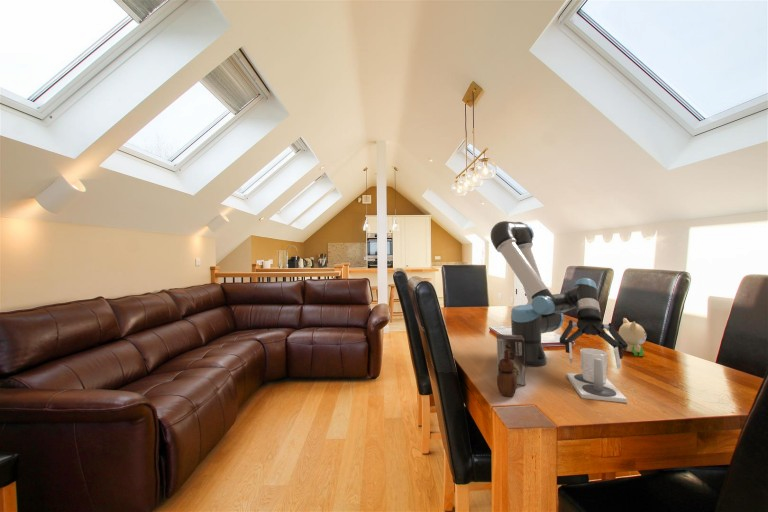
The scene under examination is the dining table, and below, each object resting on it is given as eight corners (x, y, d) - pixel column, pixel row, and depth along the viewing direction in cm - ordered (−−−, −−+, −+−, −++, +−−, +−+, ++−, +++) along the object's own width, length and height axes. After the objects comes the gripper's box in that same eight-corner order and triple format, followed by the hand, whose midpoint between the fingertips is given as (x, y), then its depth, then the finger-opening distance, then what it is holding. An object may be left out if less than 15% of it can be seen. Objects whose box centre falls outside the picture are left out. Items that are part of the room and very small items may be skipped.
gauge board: (581, 397, 98) (580, 362, 98) (566, 376, 116) (566, 346, 116) (627, 402, 94) (626, 365, 94) (604, 379, 112) (603, 348, 112)
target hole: (578, 382, 107) (578, 382, 107) (571, 373, 115) (571, 372, 115) (608, 385, 104) (608, 384, 104) (599, 375, 112) (599, 375, 112)
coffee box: (524, 379, 114) (523, 335, 114) (525, 386, 107) (524, 339, 108) (497, 376, 117) (496, 333, 117) (497, 383, 110) (496, 337, 111)
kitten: (655, 358, 135) (654, 323, 135) (628, 356, 138) (627, 322, 138) (638, 348, 149) (637, 317, 150) (613, 347, 152) (612, 316, 152)
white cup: (613, 384, 104) (613, 354, 104) (590, 384, 104) (589, 354, 104) (598, 375, 112) (597, 347, 112) (576, 375, 112) (575, 348, 112)
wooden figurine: (514, 400, 97) (513, 351, 97) (495, 396, 100) (494, 349, 100) (518, 392, 103) (517, 346, 103) (500, 388, 106) (499, 344, 106)
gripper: (627, 321, 116) (638, 374, 103) (552, 316, 128) (553, 363, 114) (630, 308, 111) (642, 363, 98) (551, 305, 123) (552, 353, 110)
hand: (594, 363), depth 106 cm, fingers open, 13 cm apart
